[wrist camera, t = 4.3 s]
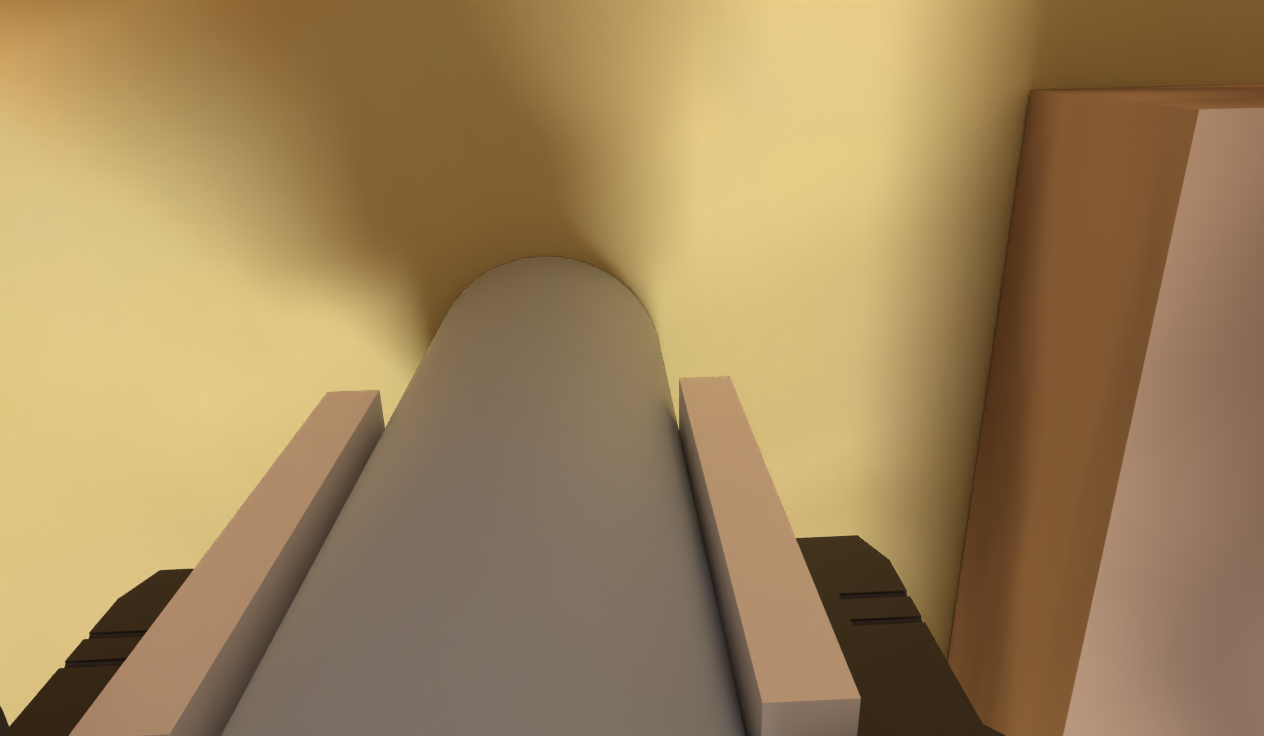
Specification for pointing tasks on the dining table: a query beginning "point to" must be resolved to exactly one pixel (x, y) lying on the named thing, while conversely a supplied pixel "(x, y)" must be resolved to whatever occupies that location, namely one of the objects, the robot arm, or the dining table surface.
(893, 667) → the robot arm
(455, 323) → the peg
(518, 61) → the dining table surface
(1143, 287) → the socket block
